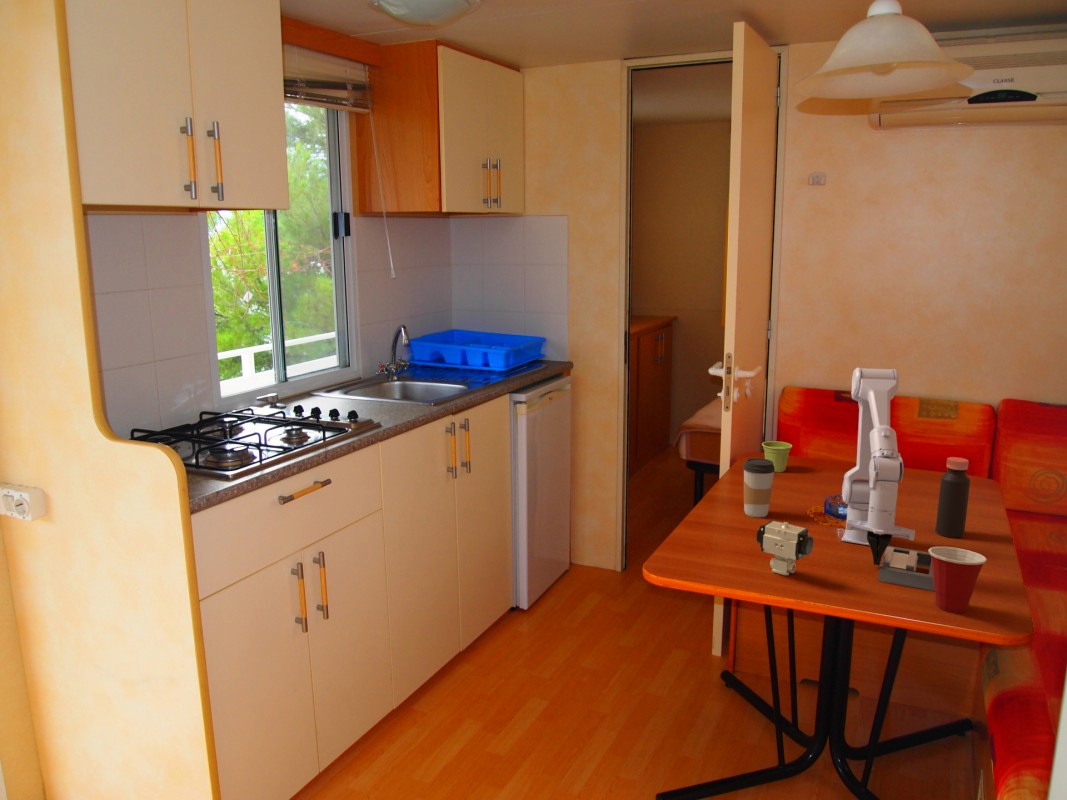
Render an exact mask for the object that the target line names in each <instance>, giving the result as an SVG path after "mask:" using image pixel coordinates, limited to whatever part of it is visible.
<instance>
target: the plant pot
mask: <svg viewBox="0 0 1067 800" xmlns="http://www.w3.org/2000/svg"><path fill="white" fill-rule="evenodd" d="M761 445H762V447H763V451H764V459H768V460H771V461H772V462H773V465H774V467H775V468H774V470H775V471H774V473H783V472H785V471H786V467H787V462H788V459H789V453H790V452H791V449H792V447H793V445H792V444H791V443H788V442H784V441H775V440H773V441H771V440H770V441H764V442H762V443H761Z"/></svg>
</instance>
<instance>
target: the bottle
mask: <svg viewBox="0 0 1067 800" xmlns="http://www.w3.org/2000/svg"><path fill="white" fill-rule="evenodd" d="M969 462H970V461H969V460H968V459H966V458H964V457H955V456H950V457H947V458H946V471H947V472H945V473H943V474H942V476H941V477H940V485H939V487H940V488H939V493H938V504H937V512H936V522H935V529H934V530H935V532H936V534H937V535H940V536H941V537H945V538H950V539H952V538H953V539H959V538H963V537H964V536H965V533H966V532H965V531H966V522H967V513H968V505H969V496H970V495H969V494H970V487H971V478H970V477H969V476H968V475H967V473H966V472H968V468H969Z"/></svg>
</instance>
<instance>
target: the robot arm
mask: <svg viewBox="0 0 1067 800" xmlns="http://www.w3.org/2000/svg"><path fill="white" fill-rule="evenodd" d="M899 380H900V375H899V372H898V371H897V369H895V368H891V369H890V368H889V369H888V368H864V367H856V368H855V369H854V370H853V372H852V376H851V391H850V392H851V399H852V400H854V401H856V402H858V409H859V411H858V430H857V446H856V447H857V448H856V449H857V450H856V451H857V453H856V466H855V467H852V468H851V469H849V470H848V471H847V472H845V473H844V476H843V482H842V487H841V489H842V490H841V495H842V497H841V498H842V501H843V502H844V503H845V504H846V505H847V513H846V523H845V531H844V534H843V536H842V538H841V541H842V542H846V543H852V544H853V543H854V544H857V545H865V546H869V547H870V551H871V554H872V562H873V565H874V566H881V563H882V559H883V558H882V557H883V556H884V554H885V551H886V548H887V546H890V545H889V544H890V543H891V541H892V538H893V537H894V538H900V539H907V540H909V541H914V540H915V534H916V530H915V529H911V528H906V527H902V526H899V525H895V522H896V520H895V519H896V513H897V512H896V510H897V503H898V502H897V501H898V492H899V483H901V482H902V480H903V478H904V477H903V476H904V463H903V458H902V457H901V453H900V452H898V451H899V450H898V441H897V433H896V431H895V429H894V428H892V427H891V400H892V399H894V398H895V394H896V393H897V392H898V390H899V382H900V381H899Z"/></svg>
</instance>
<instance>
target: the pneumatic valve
mask: <svg viewBox="0 0 1067 800" xmlns="http://www.w3.org/2000/svg"><path fill="white" fill-rule="evenodd" d="M756 543H757V544H759V545H760V546H759V547H760V548H761V549H760V551H761V552H764V553H768V554H771V555H774V556H775V557H771V559H770V560H769V561H770V563H769V567H770V568H771V572H772V573H774V574H777V575H783V576H786V577H787V576H789V575H790V574H794V573H795V571H796V567H797V566H796V563H795V561H800V560H801V559H803V558H804V557H806V556H807V557H808V556H810V554H811V553H812V551H813V548H814V537H813V536H810V533H809V528H806V527H802V526H797V525H793V524H789V522H788V521H784V522H780V521H775V520H769V521H768V522H767V523H766V522H765V524H761V525H760V526H759V527H758V529H757V533H756Z"/></svg>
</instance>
